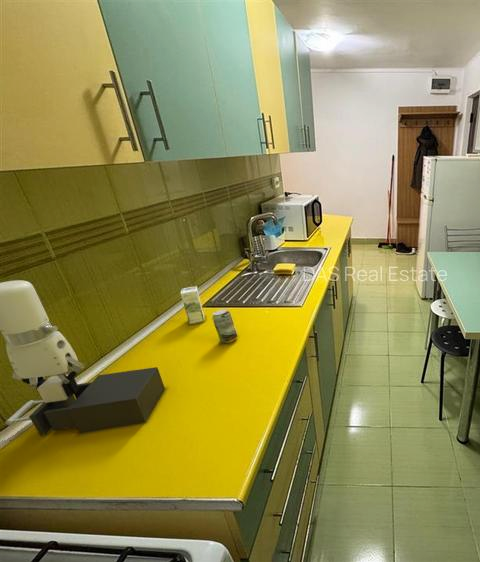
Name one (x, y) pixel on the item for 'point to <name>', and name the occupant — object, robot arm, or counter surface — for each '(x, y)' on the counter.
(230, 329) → the beverage can
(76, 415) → the dark grey drawer box
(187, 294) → the syrup box
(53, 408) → the dark grey drawer
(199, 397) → the counter surface
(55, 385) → the block
